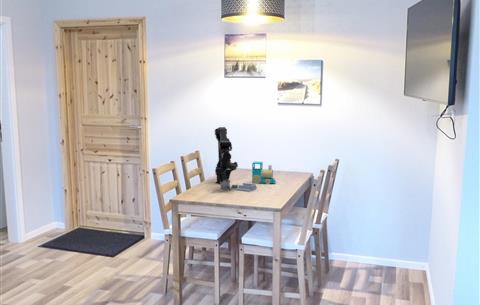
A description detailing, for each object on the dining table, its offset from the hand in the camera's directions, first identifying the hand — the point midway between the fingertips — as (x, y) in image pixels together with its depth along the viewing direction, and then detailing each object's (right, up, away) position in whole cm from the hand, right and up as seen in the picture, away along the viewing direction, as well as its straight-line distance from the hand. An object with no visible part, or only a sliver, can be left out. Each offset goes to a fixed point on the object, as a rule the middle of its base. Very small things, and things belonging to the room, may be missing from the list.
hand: (225, 181), depth 319 cm
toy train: (+28, -3, +20) cm, 35 cm away
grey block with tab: (0, -6, +1) cm, 6 cm away
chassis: (+13, -5, +1) cm, 14 cm away
